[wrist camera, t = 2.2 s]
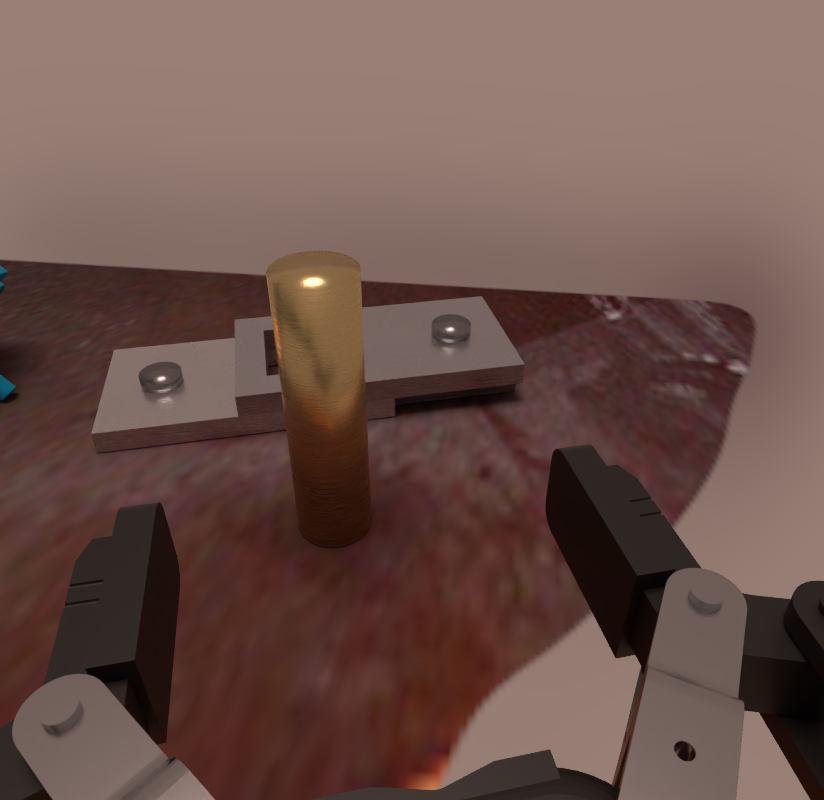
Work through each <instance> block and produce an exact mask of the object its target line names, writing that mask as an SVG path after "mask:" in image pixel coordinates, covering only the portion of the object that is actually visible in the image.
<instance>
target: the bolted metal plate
mask: <svg viewBox="0 0 824 800" xmlns="http://www.w3.org/2000/svg"><path fill="white" fill-rule="evenodd" d="M362 318H363V341H364V363H365V386H366V409H367V420H371V419H379V418H387V417H395V405H402V404H411V403H419V402H427V401H436V400H444V399H452V398H461V397H469V396H478V395H486V394H494V393H503V392H511V391H515V384H519V383H523V374H524V365H525V364H524V362H523V361H522V359H521V358H520V356H519V355H518V353H517V351H516V350H515V348H514V347H513V345H512V343H511V342H510V340H509V339H508V337H507V336H506V334H505V332H504V331H503V329H502V328H501V326H500V324H499V323H498V321H497V320H496V318H495V317H494V315H493V313H492V312H491V310H490V309H489V307H488V305H487V304H486V302H485V301H484V299H483V298H482V296H481V297H471V298H460V299H450V300H439V301H428V302H418V303H407V304H397V305H386V306H376V307H365V308H362ZM273 365H278V362H277V354H276V346H275V338H274V331H273V323H272V316H271V317H260V318H250V319H239V320H235V338H230V339H220V340H210V341H200V342H190V343H179V344H169V345H159V346H149V347H139V348H129V349H119V350H114V352H113V356H112V360H111V363H110V367H109V371H108V374H107V378H106V382H105V385H104V389H103V393H102V396H101V400H100V404H99V407H98V411H97V415H96V419H95V422H94V426H93V430H92V433H91V434H92V437H93V440H94V443H95V446H96V449H97V452H98V453H101V452H109V451H117V450H125V449H134V448H142V447H150V446H158V445H166V444H175V443H183V442H191V441H199V440H207V439H215V438H224V437H232V436H240V435H248V434H256V433H264V432H273V431H281V430H286V423H285V416H284V408H283V400H282V393H281V385H280V377H279V375H270V376H269V366H273Z"/></svg>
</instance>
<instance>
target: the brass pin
mask: <svg viewBox="0 0 824 800" xmlns="http://www.w3.org/2000/svg"><path fill="white" fill-rule="evenodd" d="M266 277H267V284H268V292H269V300H270V308H271V315H272V323H273V331H274V338H275V346H276V354H277V362H278V369H279V377H280V385H281V393H282V400H283V408H284V416H285V423H286V431H287V439H288V447H289V454H290V462H291V470H292V478H293V485H294V493H295V501H296V508H297V516H298V524H299V529H300V532H301V534H302V535H303V536H304V538H305V539H307V540H308V541H309V542H311V543H313V544H315V545H318V546H322V547H329V548H335V547H342V546H346V545H349V544H352V543H354V542H356V541H358V540H359V539H360V538H362V537H363V536H364V535H365V534H366V532H367V531H368V529H369V527H370V525H371V499H370V477H369V454H368V431H367V409H366V386H365V363H364V341H363V318H362V295H361V273H360V265H359V263H358V262H357V261H356V260H354V259H353V258H351V257H349V256H347V255H344V254H340V253H336V252H329V251H307V252H300V253H295V254H291V255H287V256H285V257H282V258H280V259H278V260H276V261H274V262H273V263H272V264H271V265H270V266H269V267H268V268H267V271H266Z"/></svg>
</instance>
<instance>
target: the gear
mask: <svg viewBox="0 0 824 800" xmlns="http://www.w3.org/2000/svg"><path fill="white" fill-rule="evenodd" d="M8 273H9V272H7V271H6V270H5V269H4V268H2V267H1V266H0V294H1V293H2V292H3V291H4V288H5V285H4V284H2V283H1V281H2V280H3V279H4V278H5V277H6V276H7V275H8ZM15 389H16V386H15V385H13V384H12V383H11V382H9V381H8V380H7V379H5V378H4V377H3V376H2V375H0V399H1V400H2V401H3V400H4V399H5V398H7V397H8V396H9V395H10V394H11V393H12V392H13V391H14V390H15Z"/></svg>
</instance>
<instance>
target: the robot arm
mask: <svg viewBox="0 0 824 800" xmlns="http://www.w3.org/2000/svg"><path fill="white" fill-rule="evenodd" d="M546 516H547V521H548V525H549V528H550V530H551V532H552V534H553V536H554V538H555V540H556V542H557V544H558V546H559V548H560V550H561V552H562V554H563V556H564V558H565V560H566V562H567V564H568V566H569V568H570V570H571V572H572V574H573V576H574V577H575V579H576V581H577V583H578V585H579V587H580V589H581V591H582V593H583V595H584V597H585V599H586V601H587V603H588V605H589V607H590V609H591V611H592V613H593V615H594V617H595V619H596V620H597V623H598V624H599V626H600V628H601V630H602V632H603V634H604V636H605V638H606V640H607V642H608V644H609V646H610V648H611V650H612V652H613V654H614V656H615V658H620V657H626V656H631V655H636V657H637V658H638V661H639V662H640V664H641V670H640V673H639V677H638V681H637V685H636V689H635V694H634V698H633V702H632V706H631V710H630V715H629V719H628V723H627V727H626V732H625V736H624V740H623V744H622V749H621V752H620V756H619V760H618V764H617V768H616V771H615V776H614V779H613V783H612V785H611V784H609V783H607V782H605V781H603V780H601V779H599V778H596V777H594V776H592V775H589V774H586V773H583V772H579V771H575V770H570V769H565V768H557V767H556V764H555V762H554V759H553V756H552V754H551V751H550V750H545V751H540V752H535V753H531V754H526V755H521V756H517V757H512V758H507V759H502V760H498V761H493V762H492V763H490V764H488V765H486V766H484V767H482V768H480V769H478V770H476V771H475V772H473V773H471V774H469V775H467V776H465V777H463V778H461V779H459V780H457V781H455V782H454V783H452V784H450V785H448V786H446V787H444V788H442V789H439V790H418V789H401V788H384V787H370V788H365V789H360V790H355V791H351V792H346V793H341V794H336V795H332V796H327V797H322V798H317V799H313V800H736V794H737V784H738V773H739V762H740V752H741V742H742V731H743V720H744V710H745V711H753V712H759V713H760V715H761V716H762V718H763V720H764V722H765V723H766V725H767V727H768V728H769V730H770V732H771V733H772V735H773V737H774V739H775V740H776V742H777V744H778V745H779V747H780V749H781V750H782V752H783V754H784V755H785V757H786V759H787V760H788V762H789V764H790V766H791V767H792V769H793V771H794V772H795V774H796V776H797V777H798V779H799V781H800V783H801V784H802V786H803V788H804V789H805V791H806V793H807V794H808V796H809V798H810V800H824V581H810V582H806V583H804V584H801V585H800V586H798V587H797V589H796V590H795V591H794V593H793V596H792V598H791V599H783V598H773V597H763V596H754V595H748V594H743V593H741V591H740V590H739V589H738V588H737V587H736V586H735V585H734V584H733V583H732V582H731V581H730V580H728V579H727V578H725V577H723V576H722V575H719V574H718V573H715V572H713V571H710V570H706V569H702V568H701V567H700V566H699V564H698V563H697V562H696V560H695V559H694V557H693V556H692V555H691V553H690V552H689V550H688V549H687V548H686V547H685V545H684V543H683V542H682V541H681V539H680V538H679V536H678V535H677V534H676V532H675V531H674V529H673V528H672V527H671V525H670V524H669V522H668V521H667V520H666V518H665V517H664V515H661V511H660V510H659V508H658V507H657V506H656V504H655V503H654V501H651V499H650V496H649V494H648V493H647V491H646V490H645V489H644V487H643V486H642V484H641V483H640V482H639V480H638V479H637V478H635V477H634V476H632V475H631V474H630V473H628V472H627V471H625V470H624V469H623V468H621V467H620V466H618V465H613V466H606V465H605V463H604V462H603V460H602V459H601V457H600V456H599V454H598V453H597V451H596V450H595V449H594V447H592V446H591V445H582V446H575V447H567V448H560V449H555V450H554V452H553V455H552V460H551V467H550V474H549V482H548V489H547V496H546ZM179 591H180V574H179V565H178V559H177V555H176V551H175V548H174V544H173V541H172V537H171V534H170V530H169V527H168V523H167V520H166V516H165V513H164V509H163V507H162V505H161V503H152V504H145V505H138V506H130V507H123V508H120V509H119V510H118V512H117V517H116V521H115V526H114V531H113V536H110V537H103V538H96V539H92V540H91V542H90V543H89V544H88V546H87V547H86V548H85V550H84V551H83V552H82V554H81V555H80V556H79V558H78V559H77V560H76V562H75V566H74V570H73V574H72V578H71V582H70V589H68V593H67V597H66V601H65V608H64V609H63V613H62V617H61V621H60V625H59V629H58V632H57V636H56V640H55V644H54V648H53V652H52V656H51V660H50V664H49V668H48V672H47V675H46V679H45V682H44V685H43V686H42V687H40V688H39V689H38V690H37V691H35V692H34V693H33V694H32V695H31V696H30V697H29V698H28V699H27V700H26V701H25V702H24V704H23V705H22V706H21V708H20V709H19V711H18V713H17V715H16V717H15V719H14V720H13V721H11V722H10V723H8V724H7V725H5V726H3V727H2V728H0V800H215V799H214V798H213V797H212V796H211V795H210V794H209V792H208V791H207V790H206V789H205V788H204V787H203V786H202V784H201V783H200V782H199V781H198V780H197V779H196V778H195V776H194V775H193V774H192V773H191V772H190V771H189V770H188V769H187V767H186V766H185V765H184V764H183V763H182V762H180V761H179V760H178V759H177V758H172V759H169V758H168V757H167V756H166V755H165V754H164V753H163V752H162V751H161V750H160V748H159V747H158V746H157V745H156V744H161V743H166V737H167V726H168V714H169V703H170V692H171V681H172V670H173V658H174V647H175V636H176V625H177V614H178V603H179Z"/></svg>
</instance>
